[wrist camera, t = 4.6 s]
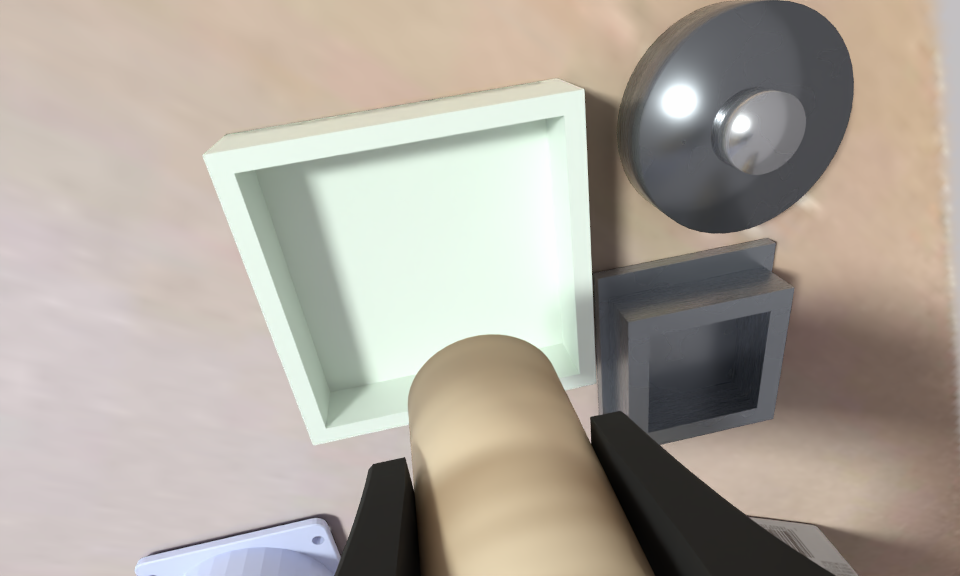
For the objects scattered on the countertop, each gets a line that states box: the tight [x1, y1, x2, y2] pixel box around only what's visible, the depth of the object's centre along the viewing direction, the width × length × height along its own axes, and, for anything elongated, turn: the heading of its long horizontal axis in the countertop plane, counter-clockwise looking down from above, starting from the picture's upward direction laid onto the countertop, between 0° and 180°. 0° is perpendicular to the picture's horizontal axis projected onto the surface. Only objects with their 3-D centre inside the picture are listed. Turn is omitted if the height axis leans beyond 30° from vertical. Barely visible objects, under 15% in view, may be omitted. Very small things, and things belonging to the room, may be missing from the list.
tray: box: [203, 78, 596, 445], centre depth 18 cm, size 10×10×2 cm
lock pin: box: [408, 334, 655, 576], centre depth 10 cm, size 4×4×8 cm
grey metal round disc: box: [617, 0, 854, 233], centre depth 17 cm, size 7×7×3 cm
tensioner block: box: [593, 238, 794, 445], centre depth 22 cm, size 8×7×2 cm
